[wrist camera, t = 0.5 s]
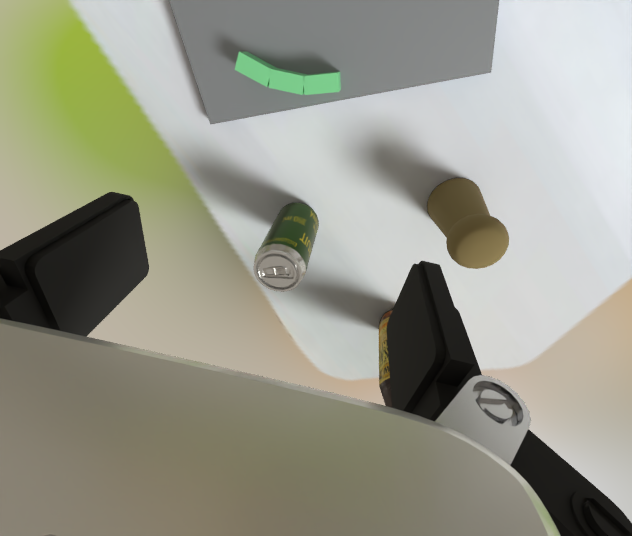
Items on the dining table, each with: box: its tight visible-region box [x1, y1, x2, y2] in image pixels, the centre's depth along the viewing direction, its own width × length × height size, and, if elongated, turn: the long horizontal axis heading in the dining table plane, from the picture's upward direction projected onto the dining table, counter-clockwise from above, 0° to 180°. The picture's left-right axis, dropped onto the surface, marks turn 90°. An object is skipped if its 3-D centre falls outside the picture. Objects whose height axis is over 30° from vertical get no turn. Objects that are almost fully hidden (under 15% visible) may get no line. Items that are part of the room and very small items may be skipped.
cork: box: [427, 178, 509, 269], centre depth 32 cm, size 6×6×11 cm
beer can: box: [254, 203, 319, 292], centre depth 36 cm, size 5×5×12 cm
